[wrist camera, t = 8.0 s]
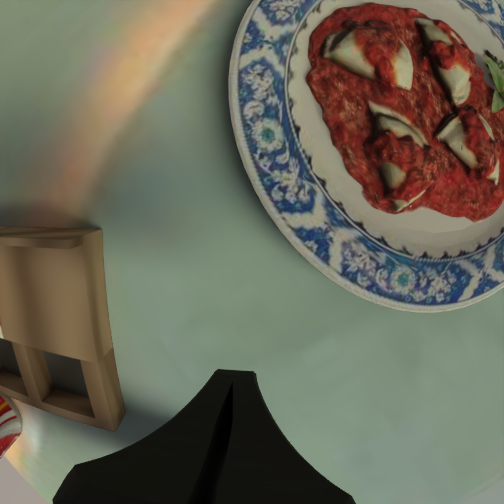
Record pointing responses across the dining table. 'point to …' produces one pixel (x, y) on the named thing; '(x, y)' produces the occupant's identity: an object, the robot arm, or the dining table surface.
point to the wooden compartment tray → (57, 325)
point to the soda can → (8, 423)
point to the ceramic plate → (379, 141)
